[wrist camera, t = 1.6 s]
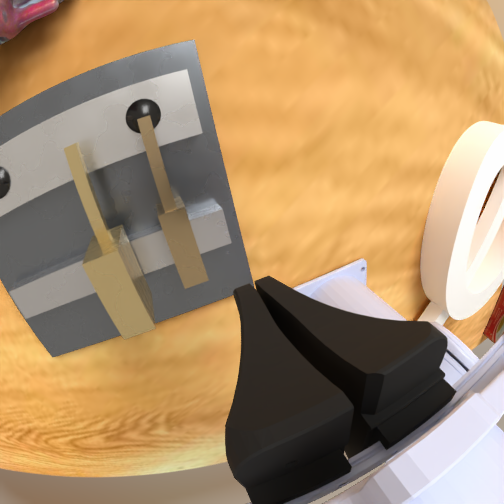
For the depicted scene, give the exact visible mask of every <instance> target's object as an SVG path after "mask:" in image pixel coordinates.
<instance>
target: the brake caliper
mask: <svg viewBox="0 0 504 504" xmlns="http://www.w3.org/2000/svg"><path fill="white" fill-rule="evenodd" d="M63 1H64V0H0V45H1V44H3V43H5V42H7V41H9V40H11V39H12V38H14V37H15V36H16V35H18V34H19V33H20V32H21V31H22V30H23V29H24V28H25V27H26V26H27V25H28V24H30V23H31V22H33V21H35V20H37V19H40V18H42V17H45V16H47V15H49V14H51V13H53V12H54V11H56V10H57V8H58V7H59V3H61V2H63Z"/></svg>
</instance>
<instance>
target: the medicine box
mask: <svg viewBox="0 0 504 504" xmlns="http://www.w3.org/2000/svg"><path fill="white" fill-rule="evenodd" d="M483 334H484V335H485V336H486V337H487V338H489V339H490V340H491V341H492V342H493V343H496V342H497V341H498V340H499V338H500V337H501V336H502V335H503V334H504V286H503V288H502V291H501V294H500V296H499V299H498V301H497V303H496V306H495V308H494V310H493V313H492V315H491V317H490V320H489V322H488V324H487V326H486V328H485V330H484V332H483Z"/></svg>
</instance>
